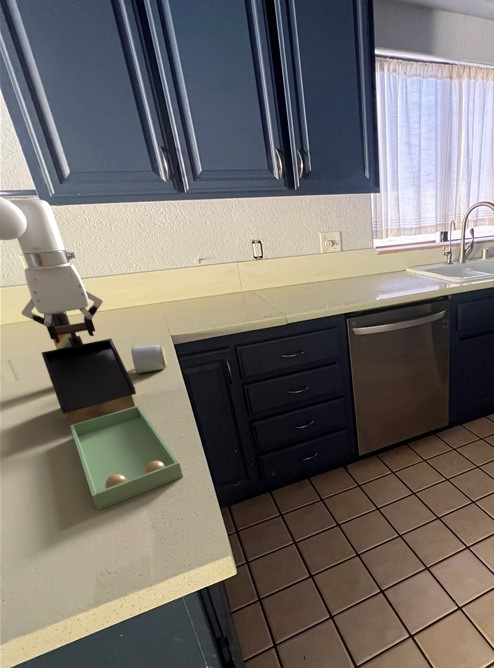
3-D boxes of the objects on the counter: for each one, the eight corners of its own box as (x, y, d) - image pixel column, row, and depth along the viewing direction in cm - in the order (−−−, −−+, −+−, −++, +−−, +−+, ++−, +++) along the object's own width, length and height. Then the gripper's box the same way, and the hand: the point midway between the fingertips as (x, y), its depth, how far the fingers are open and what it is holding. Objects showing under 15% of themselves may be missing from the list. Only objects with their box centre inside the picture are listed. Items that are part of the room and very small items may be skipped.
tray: (97, 510, 68) (91, 496, 67) (74, 437, 90) (69, 425, 89) (183, 476, 76) (179, 462, 74) (142, 416, 98) (138, 405, 97)
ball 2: (138, 465, 74) (144, 482, 74) (147, 464, 72) (154, 482, 72) (156, 458, 76) (162, 474, 77) (165, 457, 75) (171, 474, 75)
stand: (71, 426, 95) (64, 408, 93) (65, 406, 105) (58, 389, 103) (135, 407, 102) (130, 390, 101) (124, 390, 112) (118, 374, 111)
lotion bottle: (85, 375, 124) (61, 307, 116) (97, 378, 121) (73, 309, 113) (64, 382, 119) (38, 312, 111) (77, 385, 117) (50, 314, 109)
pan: (63, 414, 90) (56, 397, 86) (39, 346, 100) (32, 329, 97) (136, 394, 98) (132, 378, 94) (107, 333, 108) (103, 317, 105)
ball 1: (98, 480, 71) (105, 498, 71) (106, 477, 69) (113, 495, 69) (119, 472, 73) (125, 490, 73) (126, 470, 71) (133, 487, 72)
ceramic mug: (168, 371, 124) (161, 346, 121) (136, 377, 121) (129, 351, 118) (168, 360, 133) (161, 337, 130) (138, 366, 129) (131, 341, 126)
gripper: (90, 254, 102) (112, 327, 109) (-3, 263, 92) (28, 343, 99) (95, 256, 96) (118, 333, 104) (-3, 267, 86) (30, 350, 94)
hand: (74, 337), depth 101 cm, fingers closed on pan, 6 cm apart
